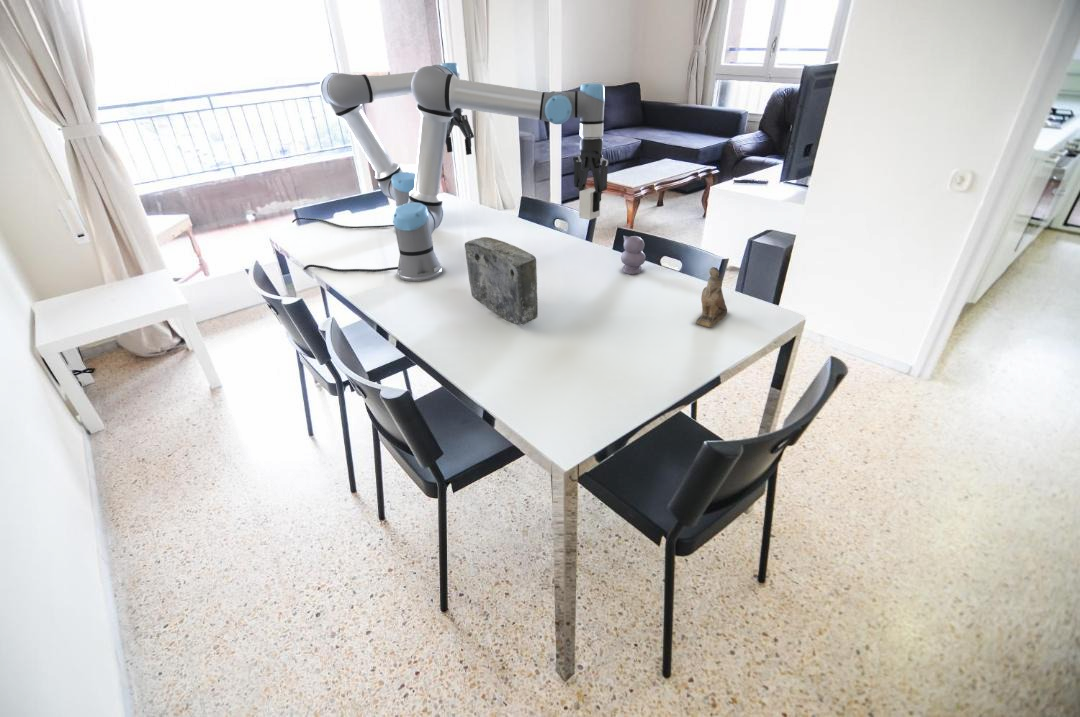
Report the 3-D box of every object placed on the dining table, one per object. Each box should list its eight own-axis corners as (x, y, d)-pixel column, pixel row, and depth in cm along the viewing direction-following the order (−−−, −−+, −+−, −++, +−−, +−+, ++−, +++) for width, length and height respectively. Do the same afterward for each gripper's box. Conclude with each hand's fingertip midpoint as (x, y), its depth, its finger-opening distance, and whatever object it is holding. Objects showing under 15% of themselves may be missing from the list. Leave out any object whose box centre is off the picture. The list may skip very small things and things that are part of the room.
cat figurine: (649, 270, 171) (652, 236, 165) (636, 276, 167) (638, 242, 160) (628, 264, 176) (630, 231, 170) (615, 271, 172) (617, 237, 165)
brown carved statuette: (709, 335, 136) (713, 280, 124) (691, 329, 139) (693, 274, 128) (730, 313, 142) (736, 258, 130) (712, 307, 145) (716, 253, 133)
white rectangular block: (599, 216, 175) (600, 189, 170) (589, 219, 171) (590, 193, 167) (589, 214, 178) (589, 187, 173) (579, 217, 174) (579, 191, 169)
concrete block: (545, 326, 139) (543, 257, 128) (519, 336, 134) (514, 266, 124) (495, 295, 157) (489, 234, 147) (470, 303, 153) (463, 240, 143)
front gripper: (620, 138, 158) (616, 211, 171) (576, 134, 169) (576, 203, 181) (607, 141, 154) (604, 216, 166) (562, 137, 164) (563, 208, 176)
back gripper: (478, 102, 218) (483, 154, 229) (442, 101, 232) (448, 149, 243) (465, 104, 213) (471, 156, 224) (429, 102, 227) (436, 152, 238)
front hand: (589, 209), depth 173 cm, fingers closed on white rectangular block, 5 cm apart
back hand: (459, 153), depth 234 cm, fingers open, 13 cm apart
